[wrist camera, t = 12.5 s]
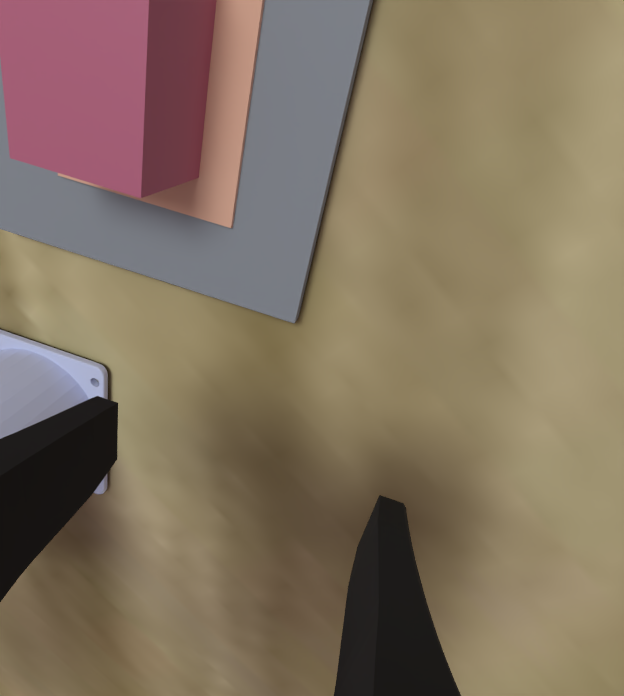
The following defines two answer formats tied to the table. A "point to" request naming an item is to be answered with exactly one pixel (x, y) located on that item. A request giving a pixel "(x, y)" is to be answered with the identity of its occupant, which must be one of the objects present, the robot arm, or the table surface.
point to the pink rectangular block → (108, 88)
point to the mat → (223, 165)
